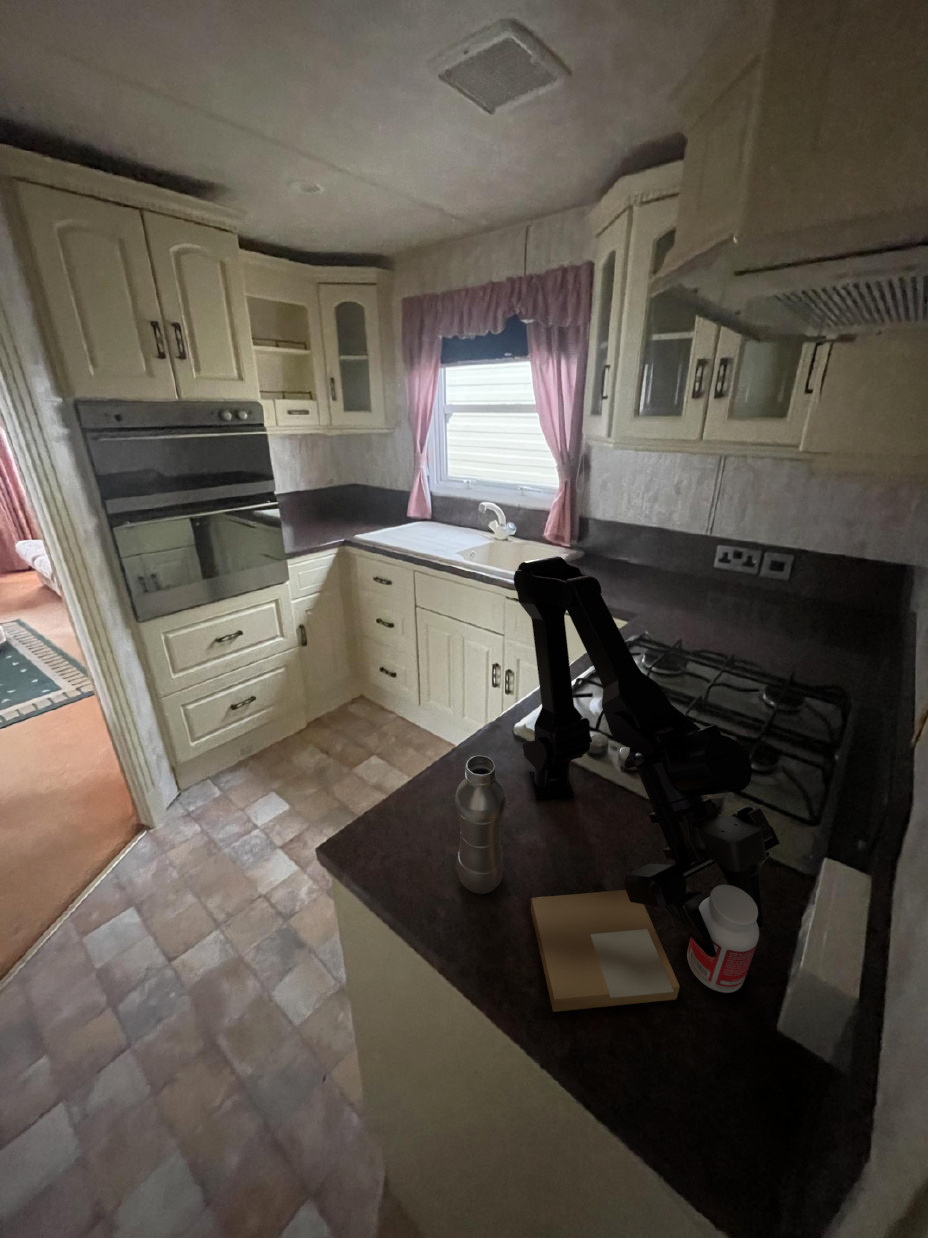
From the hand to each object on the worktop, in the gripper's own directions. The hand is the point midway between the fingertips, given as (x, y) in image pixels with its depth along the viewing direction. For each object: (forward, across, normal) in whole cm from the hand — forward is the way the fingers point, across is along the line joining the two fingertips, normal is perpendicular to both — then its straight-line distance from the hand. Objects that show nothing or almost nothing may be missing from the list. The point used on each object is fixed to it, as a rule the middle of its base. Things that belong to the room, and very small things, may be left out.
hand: (736, 941), depth 56 cm
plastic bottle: (-12, -19, +22) cm, 31 cm away
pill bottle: (+4, 0, +6) cm, 7 cm away
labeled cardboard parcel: (-2, -11, +11) cm, 16 cm away
